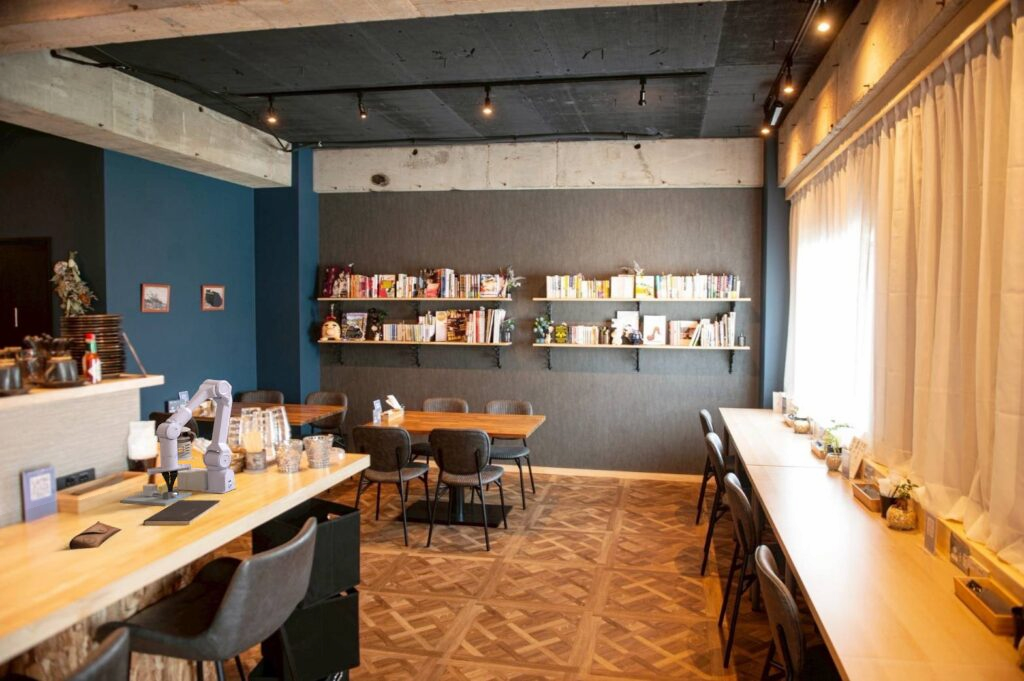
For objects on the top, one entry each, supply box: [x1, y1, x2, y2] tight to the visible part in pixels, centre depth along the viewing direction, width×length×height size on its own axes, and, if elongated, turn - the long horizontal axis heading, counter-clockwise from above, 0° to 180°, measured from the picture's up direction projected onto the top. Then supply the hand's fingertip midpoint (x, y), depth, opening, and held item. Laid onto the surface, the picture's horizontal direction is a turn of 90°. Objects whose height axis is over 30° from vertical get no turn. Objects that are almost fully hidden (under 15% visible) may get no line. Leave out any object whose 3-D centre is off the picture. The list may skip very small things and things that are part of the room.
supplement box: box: [176, 467, 208, 492], centre depth 280 cm, size 7×7×13 cm
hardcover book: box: [142, 499, 221, 526], centre depth 246 cm, size 16×23×2 cm
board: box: [119, 490, 193, 507], centre depth 265 cm, size 20×14×1 cm
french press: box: [177, 406, 197, 462], centre depth 334 cm, size 10×12×25 cm
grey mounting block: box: [163, 487, 180, 500], centre depth 264 cm, size 2×6×3 cm, turn 167°
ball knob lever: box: [158, 483, 168, 494], centre depth 261 cm, size 2×6×2 cm, turn 167°
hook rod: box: [142, 483, 178, 497], centre depth 265 cm, size 14×3×4 cm, turn 77°
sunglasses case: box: [68, 520, 122, 550], centre depth 221 cm, size 18×7×7 cm
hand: (170, 491), depth 258 cm, fingers closed
